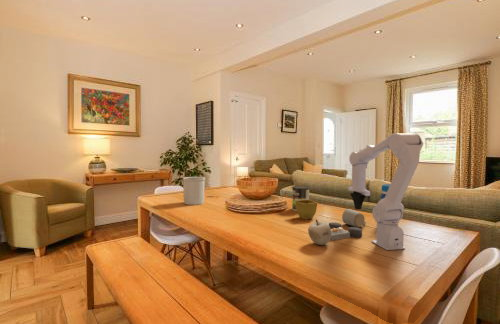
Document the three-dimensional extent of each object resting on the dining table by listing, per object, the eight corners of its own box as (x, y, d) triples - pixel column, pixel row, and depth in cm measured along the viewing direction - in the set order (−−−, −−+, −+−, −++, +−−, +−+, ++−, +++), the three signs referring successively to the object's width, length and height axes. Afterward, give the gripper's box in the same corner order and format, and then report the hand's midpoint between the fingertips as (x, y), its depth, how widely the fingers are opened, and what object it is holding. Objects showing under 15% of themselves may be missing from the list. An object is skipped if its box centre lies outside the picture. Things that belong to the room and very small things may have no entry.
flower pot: (317, 219, 145) (317, 202, 144) (303, 220, 141) (303, 203, 141) (308, 215, 153) (308, 199, 152) (294, 216, 149) (294, 200, 149)
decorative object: (335, 244, 107) (335, 219, 106) (323, 250, 101) (323, 223, 100) (316, 238, 113) (316, 215, 113) (303, 244, 107) (303, 219, 107)
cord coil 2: (364, 237, 115) (364, 230, 115) (352, 238, 114) (352, 231, 114) (357, 233, 121) (357, 226, 121) (345, 234, 120) (345, 227, 120)
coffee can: (298, 212, 160) (298, 188, 159) (288, 208, 169) (289, 186, 168) (312, 210, 164) (313, 187, 163) (302, 207, 173) (302, 185, 172)
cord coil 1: (343, 232, 123) (343, 225, 123) (331, 232, 122) (332, 226, 122) (337, 228, 128) (337, 222, 128) (326, 229, 127) (326, 222, 127)
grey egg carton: (349, 238, 116) (350, 229, 115) (331, 241, 111) (331, 232, 111) (338, 233, 122) (338, 225, 122) (320, 236, 118) (320, 228, 118)
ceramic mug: (354, 229, 127) (355, 212, 127) (341, 224, 134) (342, 209, 134) (370, 226, 132) (370, 210, 132) (356, 222, 139) (357, 207, 139)
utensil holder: (198, 200, 197) (198, 176, 196) (209, 203, 186) (209, 177, 185) (179, 202, 188) (179, 177, 187) (189, 206, 176) (189, 179, 176)
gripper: (342, 177, 128) (341, 205, 129) (359, 181, 114) (358, 213, 114) (355, 177, 129) (355, 205, 130) (374, 180, 115) (374, 212, 116)
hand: (358, 209), depth 122 cm, fingers closed
